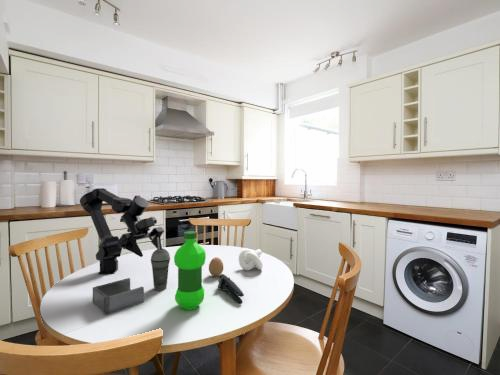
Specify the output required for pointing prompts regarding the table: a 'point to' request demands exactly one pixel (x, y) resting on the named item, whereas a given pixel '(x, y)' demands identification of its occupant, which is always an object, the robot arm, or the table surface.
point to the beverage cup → (160, 267)
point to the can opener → (230, 287)
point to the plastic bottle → (190, 272)
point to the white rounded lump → (250, 259)
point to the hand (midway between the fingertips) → (152, 253)
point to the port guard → (116, 296)
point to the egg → (216, 266)
